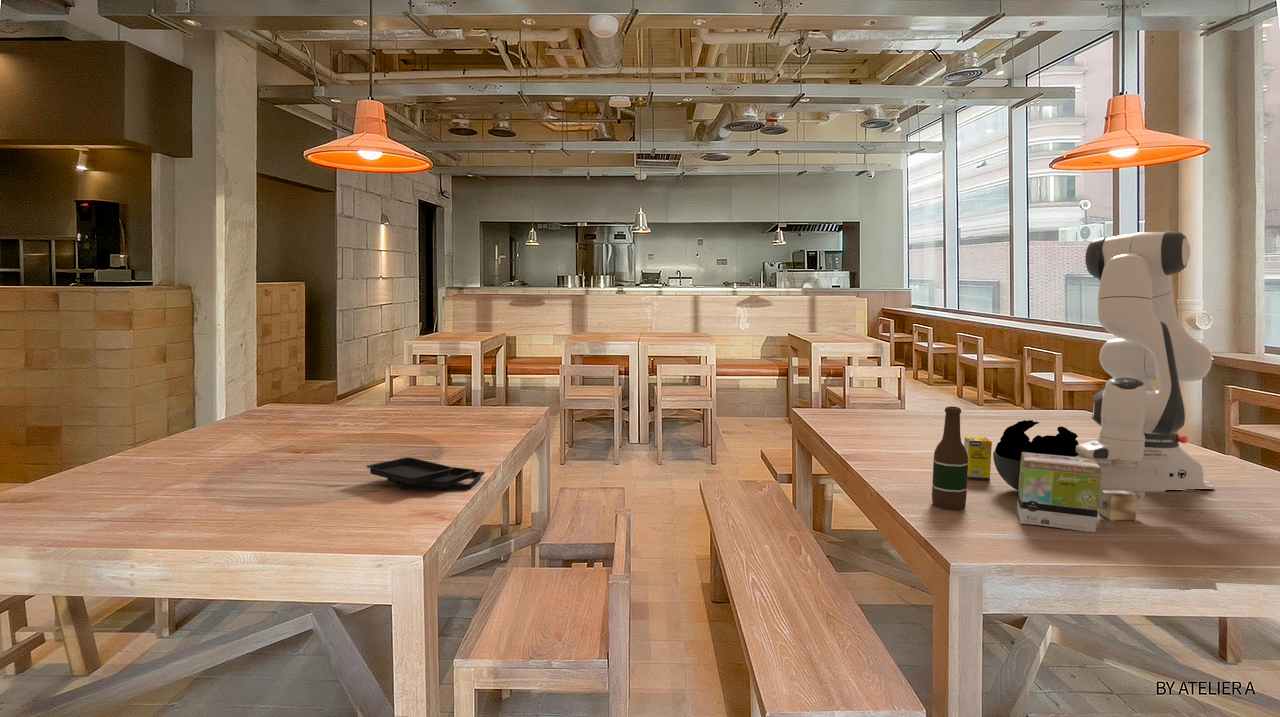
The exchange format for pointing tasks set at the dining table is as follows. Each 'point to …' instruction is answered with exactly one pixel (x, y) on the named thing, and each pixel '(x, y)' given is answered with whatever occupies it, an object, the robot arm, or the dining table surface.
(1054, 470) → the tea box
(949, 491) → the beer bottle
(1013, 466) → the coal bowl
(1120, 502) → the oak block
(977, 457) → the supplement box
